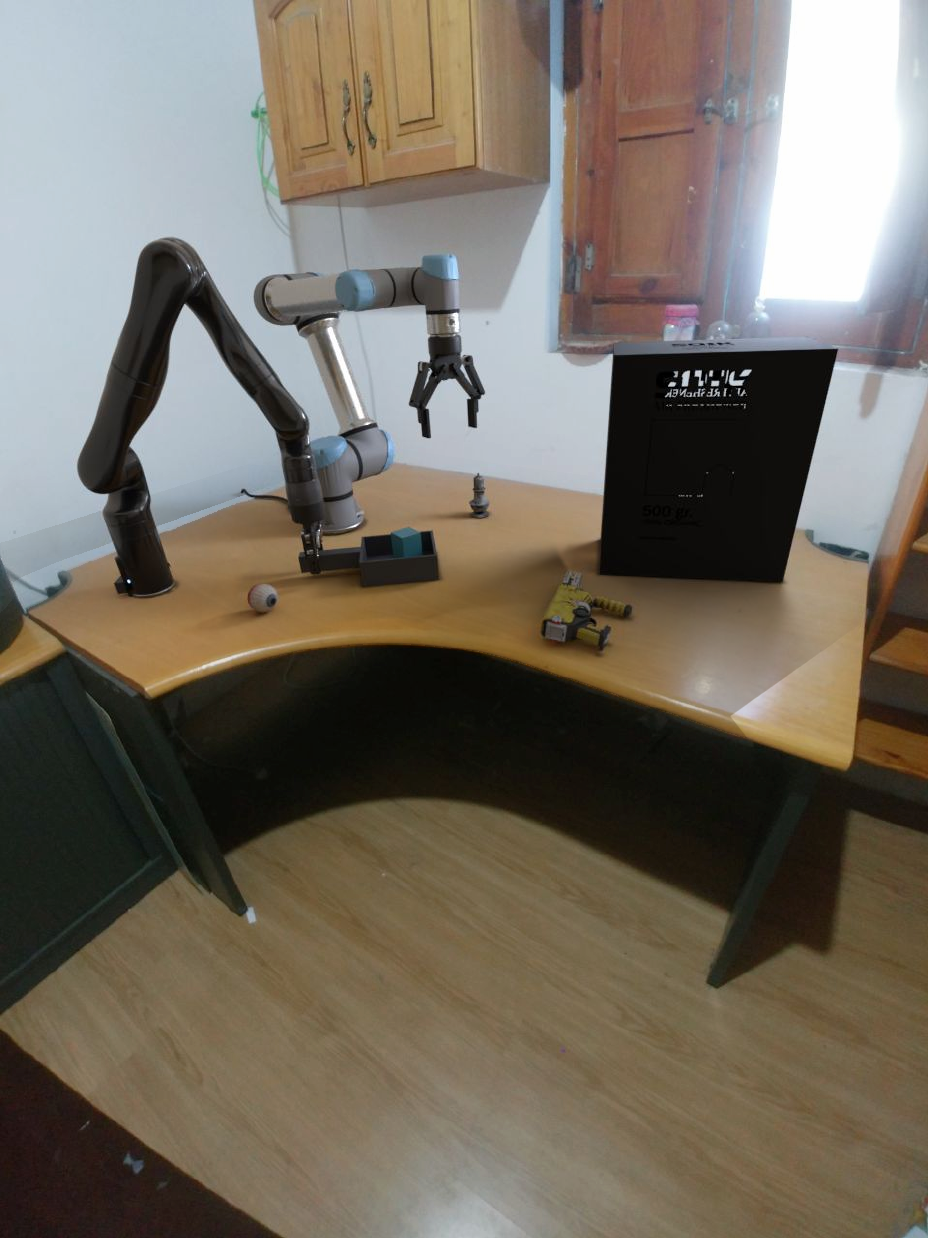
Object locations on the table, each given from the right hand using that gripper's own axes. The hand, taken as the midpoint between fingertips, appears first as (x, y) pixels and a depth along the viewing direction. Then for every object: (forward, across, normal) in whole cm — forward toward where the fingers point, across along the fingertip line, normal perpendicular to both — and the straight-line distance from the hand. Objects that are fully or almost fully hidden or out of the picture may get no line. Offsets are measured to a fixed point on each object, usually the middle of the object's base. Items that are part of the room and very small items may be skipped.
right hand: (450, 432), depth 145 cm
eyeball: (+27, -54, -6) cm, 61 cm away
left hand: (+24, -38, +2) cm, 45 cm away
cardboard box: (+27, +30, -48) cm, 63 cm away
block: (+26, -20, -8) cm, 34 cm away
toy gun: (+27, -6, -53) cm, 60 cm away
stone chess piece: (+27, +14, +8) cm, 31 cm away
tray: (+27, -28, -4) cm, 39 cm away
